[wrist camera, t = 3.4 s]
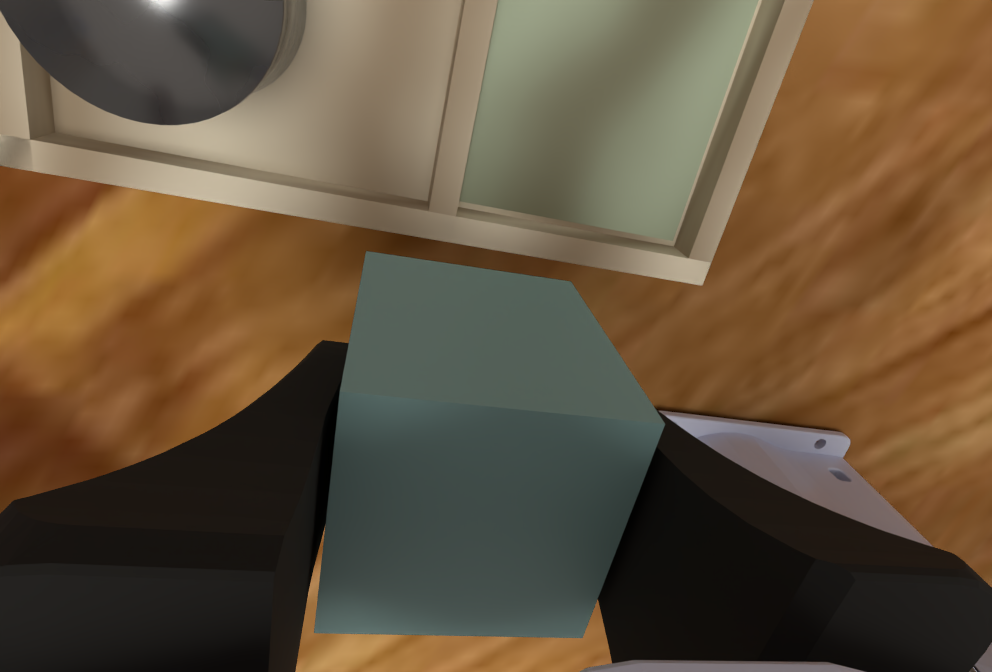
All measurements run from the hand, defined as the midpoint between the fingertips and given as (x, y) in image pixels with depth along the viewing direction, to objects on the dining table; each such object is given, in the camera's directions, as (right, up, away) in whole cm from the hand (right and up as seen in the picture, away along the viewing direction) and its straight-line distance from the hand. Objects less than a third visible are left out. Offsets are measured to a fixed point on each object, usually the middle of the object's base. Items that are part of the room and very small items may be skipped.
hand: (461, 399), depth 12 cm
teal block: (0, +1, +2) cm, 2 cm away
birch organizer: (-1, +10, +5) cm, 11 cm away
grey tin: (-7, +10, +4) cm, 13 cm away
